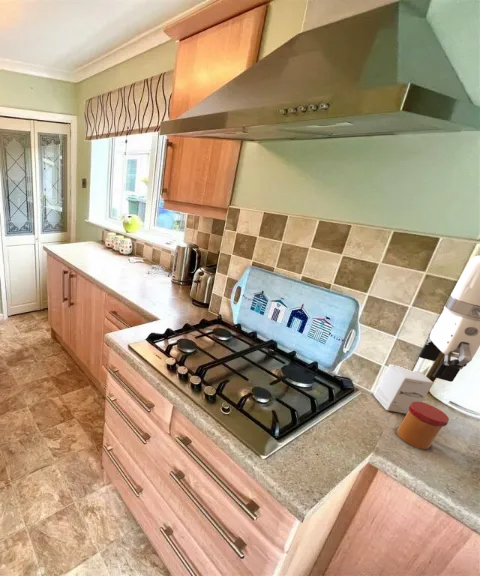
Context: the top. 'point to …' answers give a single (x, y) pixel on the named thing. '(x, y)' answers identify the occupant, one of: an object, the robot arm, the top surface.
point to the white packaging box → (401, 388)
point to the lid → (428, 414)
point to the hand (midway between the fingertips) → (434, 368)
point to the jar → (417, 431)
